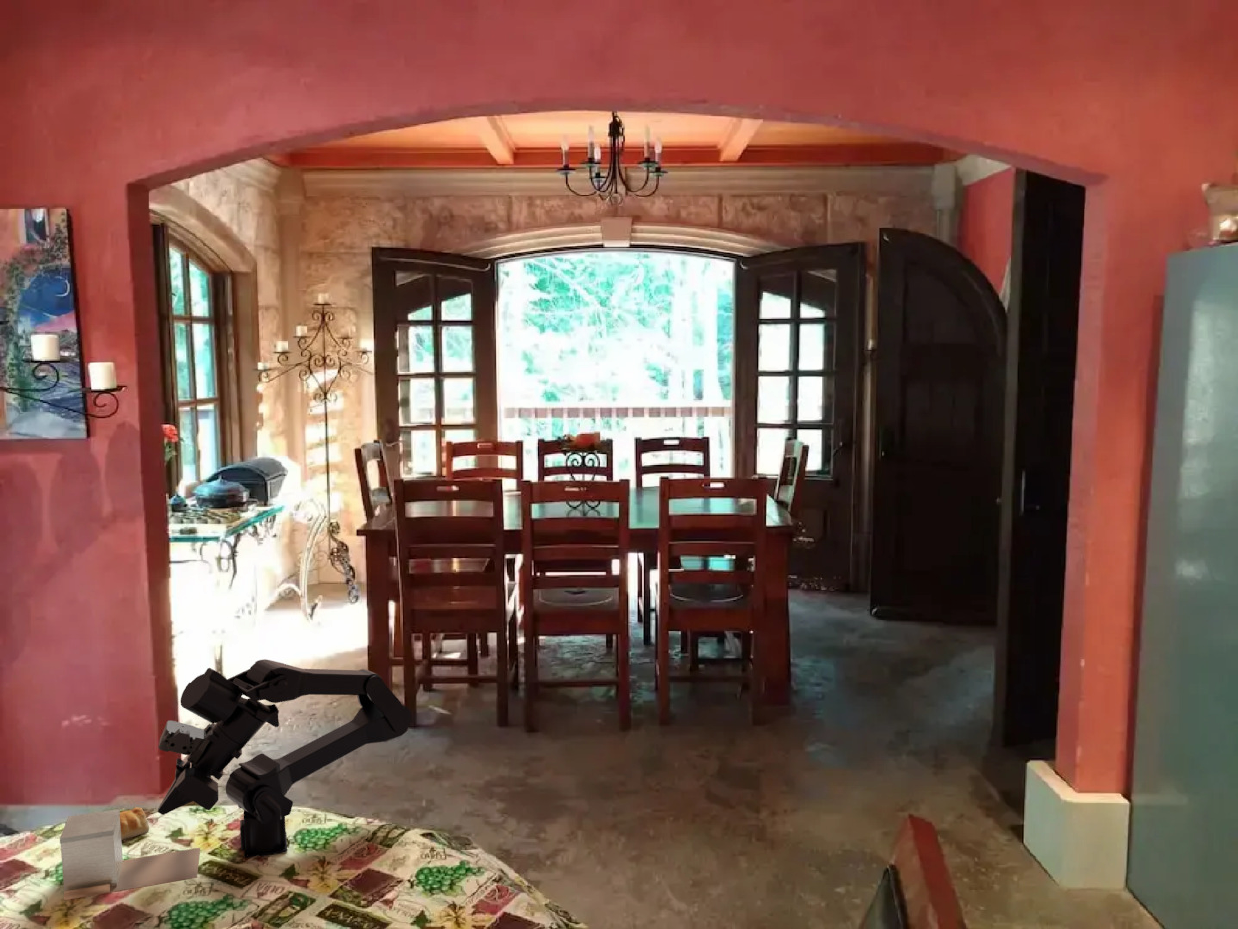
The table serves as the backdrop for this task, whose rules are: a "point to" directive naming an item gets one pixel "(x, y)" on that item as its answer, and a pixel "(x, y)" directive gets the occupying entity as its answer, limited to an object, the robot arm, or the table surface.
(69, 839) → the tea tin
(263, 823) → the robot arm
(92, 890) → the board
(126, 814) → the pastry
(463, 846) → the table surface
